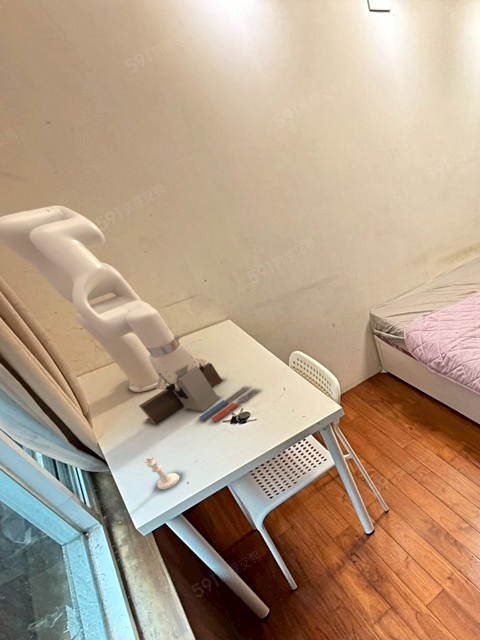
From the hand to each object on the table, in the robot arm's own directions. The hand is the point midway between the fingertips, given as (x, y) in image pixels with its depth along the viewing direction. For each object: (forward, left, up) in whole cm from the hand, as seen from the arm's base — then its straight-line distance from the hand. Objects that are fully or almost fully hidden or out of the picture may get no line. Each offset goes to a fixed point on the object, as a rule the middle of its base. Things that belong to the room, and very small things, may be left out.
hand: (194, 391), depth 128 cm
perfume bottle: (0, 0, -6) cm, 6 cm away
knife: (+8, +2, -6) cm, 10 cm away
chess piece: (+22, -27, -6) cm, 35 cm away
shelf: (-7, -1, -6) cm, 9 cm away
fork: (+12, +2, -6) cm, 14 cm away
